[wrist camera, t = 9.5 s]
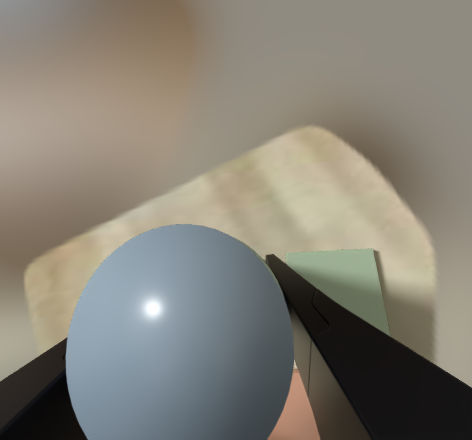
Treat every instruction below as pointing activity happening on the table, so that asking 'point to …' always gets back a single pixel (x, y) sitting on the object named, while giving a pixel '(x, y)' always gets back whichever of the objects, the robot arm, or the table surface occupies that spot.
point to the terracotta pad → (296, 415)
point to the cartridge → (180, 341)
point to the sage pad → (345, 281)
